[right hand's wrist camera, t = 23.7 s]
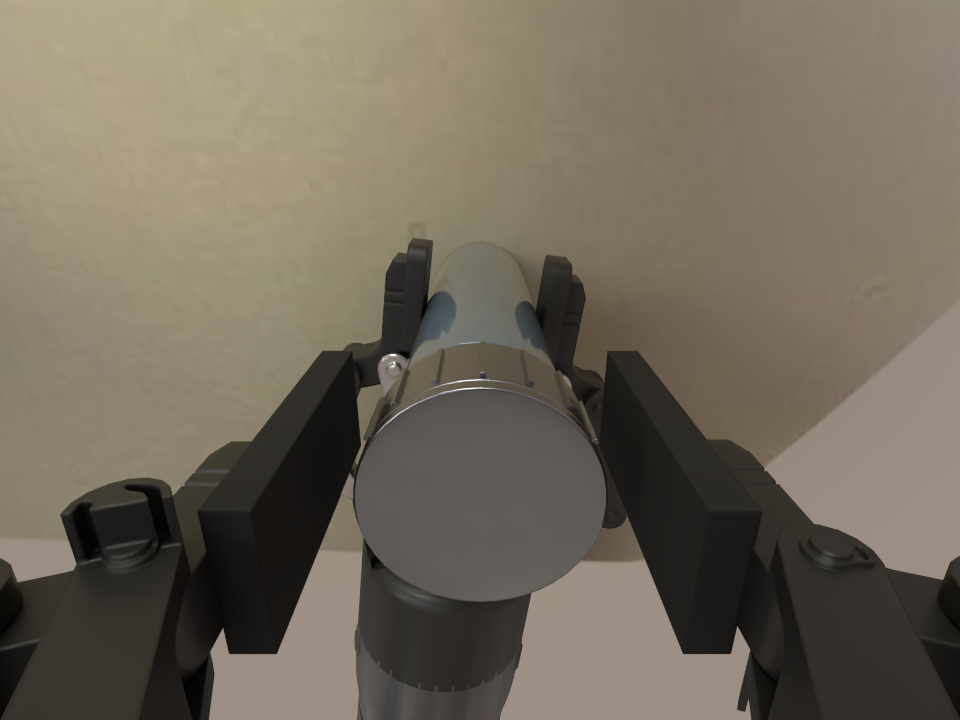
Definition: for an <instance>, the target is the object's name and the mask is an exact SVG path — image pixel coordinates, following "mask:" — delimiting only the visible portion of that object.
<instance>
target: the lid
mask: <svg viewBox="0 0 960 720" xmlns="http://www.w3.org/2000/svg"><path fill="white" fill-rule="evenodd" d="M364 440H366V441H367V442H366V445H365V447H364V450H363V453H362V455H361V458H360V460H359V463H358V466H357V468H356V471H355V474H354V486H353V503H354V509H355V514H356V519H357V521H358V524H359V527H360V530H361V532H362V534H363V536H364V538H365V540H366V542H367V544H368V545H369V547H370V548H371V550H372V551H373V553H374V554H375V555H376V556H377V557H378V559H379V560H380V561H381V562H382V563H383V564H384V565H385V566H386V567H387V568H388V569H390V570H391V571H392V572H393V573H394V574H396V575H397V576H398V577H400V578H401V579H403V580H404V581H406V582H407V583H409V584H411V585H413V586H415V587H417V588H419V589H421V590H424V591H426V592H429V593H432V594H434V595H437V596H441V597H445V598H449V599H454V600H461V601H472V602H489V601H500V600H506V599H512V598H516V597H520V596H523V595H527V594H529V593H532V592H535V591H537V590H540V589H542V588H544V587H546V586H548V585H550V584H552V583H553V582H555V581H556V580H558V579H559V578H561V577H562V576H564V575H565V574H567V573H568V572H569V571H570V570H571V569H572V568H574V567H575V566H576V565H577V564H578V563H579V562H580V561H581V560H582V558H583V557H584V556H585V555H586V554H587V552H588V551H589V550H590V548H591V547H592V545H593V544H594V542H595V540H596V538H597V536H598V534H599V532H600V530H601V527H602V524H603V521H604V518H605V514H606V508H607V503H608V486H607V478H606V473H605V470H604V467H603V463H602V460H601V458H600V455H599V453H598V450H597V447H596V445H597V444H599V441H598V438H597V436H596V433H595V431H594V428H593V426H592V424H591V421H590V419H589V416H588V414H587V411H586V409H585V406H584V404H583V402H582V401H580V402H578V400H577V398H576V396H575V394H574V393H573V391H572V390H571V388H570V387H569V385H568V384H567V383H566V381H565V380H564V378H563V375H562V373H561V372H560V371H559V370H558V371H555V370H554V369H552V368H551V367H550V366H549V365H548V364H546V363H544V362H543V361H541V360H540V359H538V358H537V357H535V356H532V355H530V354H528V351H527V350H525V349H522V351H521V350H518V349H515V348H512V347H508V346H502V345H497V344H485V341H480V343H476V344H464V345H458V346H453V347H449V348H446V349H443V348H439V349H438V350H437V352H435V353H433V354H431V355H428V356H426V357H424V358H423V359H421V360H420V361H418V362H416V363H415V364H413V365H412V366H411V367H410V368H408V369H407V368H406V367H405V368H404V369H403V370H402V372H401V375H400V377H399V378H398V379H397V380H396V381H395V382H394V383H393V385H392V386H391V388H390V389H389V391H388V392H387V394H386V395H385V398H382V397H380V399H379V401H378V404H377V406H376V409H375V411H374V414H373V416H372V419H371V421H370V424H369V426H368V429H367V431H366V434H365V436H364Z"/></svg>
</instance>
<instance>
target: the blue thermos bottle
mask: <svg viewBox="0 0 960 720" xmlns="http://www.w3.org/2000/svg"><path fill="white" fill-rule="evenodd" d="M480 341H485V344H497V345H502V346H508V347H512V348H515V349H518V350H521V351H522V349H525V350H527V351H528V354H530V355H532V356H535V357H537V358H538V359H540V360H541V361H543V362H544V363H546V364H548V365H549V366H550V367H551V368H552V369H554V370H555V371H556V369H555V366H554V363H553V360H552V357H551V354H550V351H549V349H548V346H547V343H546V340H545V337H544V334H543V331H542V328H541V325H540V322H539V320H538V317H537V314H536V311H535V308H534V305H533V302H532V299H531V296H530V294H529V291H528V288H527V285H526V282H525V279H524V276H523V273H522V271H521V268H520V266H519V265H518V263H517V261H516V260H515V259H514V258H513V257H512V256H511V255H510V254H509V253H508V252H507V251H505V250H504V249H502V248H500V247H498V246H495V245H492V244H488V243H473V244H468V245H465V246H462V247H460V248H458V249H457V250H455V251H454V252H452V253H451V254H450V255H449V256H448V257H447V258H446V259H445V261H444V262H443V263H442V265H441V267H440V269H439V272H438V274H437V277H436V280H435V283H434V286H433V289H432V292H431V295H430V298H429V301H428V303H427V306H426V309H425V312H424V315H423V318H422V321H421V324H420V327H419V330H418V333H417V336H416V339H415V341H414V344H413V347H412V350H411V353H410V356H409V359H408V362H407V365H406V368H407V369H408V368H410V367H411V366H412V365H413V364H415V363H416V362H418V361H420V360H421V359H423V358H424V357H426V356H428V355H431V354H433V353H435V352H437V350H438V349H439V348H443V349H446V348H449V347H453V346H458V345H464V344H476V343H480Z"/></svg>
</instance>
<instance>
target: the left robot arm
mask: <svg viewBox="0 0 960 720" xmlns="http://www.w3.org/2000/svg"><path fill="white" fill-rule="evenodd" d="M432 248H433V240H425V239H417V238H413V239H412V241H411V242H410V243H409V246H408V251H407V254H405V253H398V254H397V255H396V257H395V258H394V259H393V261H392V263H391V265H390V267H389V269H388V271H387V273H386V280H385V295H384V310H383V325H382V338H381V339H380V340H378V341H376V342H373V343H369V344H364V345H363V344H361V343H352V344H349V345H348V346H346V347H345V349H344V350H343V351H352V352H353V363H354V374H355V385H356V396H357V397H358V394H359V392H360V389H361V388H364V387H368V386H373V385H378V384H381V387H382V391H383V395H384V398H385V395H386V394H387V392H388V391H389V389H390V388H391V386H392V385H393V383H394V382H395V381H396V380H397V379H398V378H399V377H400V375H401V372H402V370H403V369H404V368H405V367H406V365H407V362H408V359H409V356H410V353H411V350H412V347H413V344H414V341H415V339H416V336H417V333H418V330H419V327H420V324H421V321H422V318H423V315H424V312H425V309H426V306H427V301H428V290H429V280H430V269H431V259H432ZM585 299H586V298H585V293H584V288H583V283H582V282H581V281H580V279H579V278H578V277H577V276H576V275H572V265H571V263H570V262H569V261H568V259H567V258H566V257H560V256H552V255H547V256H546V258H545V262H544V267H543V273H542V279H541V284H540V290H539V296H538V302H537V307H536V314H537V317H538V320H539V322H540V325H541V328H542V331H543V334H544V337H545V340H546V343H547V346H548V349H549V351H550V354H551V357H552V360H553V363H554V366H555V369H556V371H558V370H559V371H560V372H561V373H562V375H563V378H564V380H565V381H566V383H567V384H568V385H569V387H570V388H571V390H572V391H573V393H574V394H575V396H576V398H577V400H578V402H580V401H582V402H583V404H584V406H585V409H586V411H587V414H588V416H589V419H590V421H591V424H592V426H593V428H594V431H595V433H596V436H597V438H598V441H600V430H601V419H602V407H603V396H604V385H605V384H604V381H603V379H602V378H601V376H600V375H599V374H598V373H597V372H595V371H592V370H585V371H584V370H582V369H580V368H578V367H576V366H575V365H573V357H574V352H575V347H576V343H577V338H578V333H579V328H580V323H581V318H582V313H583V308H584V304H585ZM596 447H597V450H598V453H599V455H600V458H601V460H602V463H603V467H604V470H605V473H606V478H607V486H608V503H607V508H606V514H605V518H604V521H603V524H602V527H604V528H608V529H613V528H617V527H619V526H620V525H622V524H623V523H624V521H625V520H626V511H625V508H624V506H623V503H622V501H621V498H620V496H619V493H618V491H617V488H616V486H615V483H614V481H613V479H612V476H611V474H610V471H609V469H608V466H607V464H606V461H605V459H604V456H603V454H602V451H601V449H600V446H599V444H597V445H596ZM357 466H358V465H357V464H356V462H355V461H354V464H353V466H352V469H351V471H350V474H349V476H348V478H347V481H346V483H345V486H344V488H343V491H342V493H341V495H342V496H345V497H347V498H350V499H353V486H354V474H355V471H356V468H357ZM353 506H354V503H353ZM354 510H355V509H354ZM530 597H531V593H529V594H527V595H523V596H520V597H516V598H512V599H506V600H500V601H489V602H472V601H461V600H454V599H449V598H445V597H441V596H437V595H434V594H432V593H429V592H426V591H424V590H421V589H419V588H417V587H415V586H413V585H411V584H409V583H407V582H406V581H404V580H403V579H401V578H400V577H398V576H397V575H396V574H394V573H393V572H392V571H391V570H390V569H388V568H387V567H386V566H385V565H384V564H383V563H382V562H381V561H380V560H379V559H378V557H377V556H376V555H375V554H374V553H373V551H372V550H371V548H370V547H369V545H368V544H367V542H366V540H365V538H364V539H363V555H362V571H361V586H360V603H359V617H358V624H357V628H356V631H355V651H356V673H357V682H358V688H359V701H358V715H357V720H500V715H501V711H502V708H503V706H504V704H505V702H506V699H507V697H508V694H509V691H510V688H511V685H512V682H513V678H514V674H515V670H516V668H518V664H519V660H520V655H521V650H522V635H523V630H524V626H525V621H526V616H527V611H528V607H529V602H530Z"/></svg>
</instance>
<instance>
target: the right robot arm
mask: <svg viewBox="0 0 960 720" xmlns="http://www.w3.org/2000/svg"><path fill="white" fill-rule="evenodd" d="M360 446H361V441H360V430H359V419H358V408H357V396H356V385H355V374H354V363H353V352H352V351H322V352H321V354H320V355H319V356H318V357H317V359H316V360H315V361H314V363H313V364H312V365H311V366H310V368H309V369H308V370H307V371H306V373H305V374H304V375H303V377H302V378H301V379H300V380H299V382H298V383H297V384H296V386H295V387H294V388H293V389H292V391H291V392H290V393H289V394H288V396H287V397H286V398H285V400H284V401H283V402H282V403H281V405H280V406H279V407H278V409H277V410H276V411H275V412H274V414H273V415H272V416H271V417H270V419H269V420H268V421H267V423H266V424H265V425H264V426H263V428H262V429H261V430H260V432H259V433H258V434H257V435H256V437H255V438H254V439H253V440H252V442H230V443H228V444H227V445H225V446H224V447H222V448H220V449H219V450H217V451H215V452H214V453H212V454H210V455H209V456H208V457H207V459H206V460H205V461H204V462H203V463H202V464H201V465H200V466H199V468H198V469H197V470H196V473H193V474H192V475H191V477H190V478H189V479H188V480H187V481H186V482H185V486H182V487H181V488H180V489H179V490H178V491H177V492H176V494H175V495H174V496H172V491H171V487H170V486H169V485H168V484H166V483H165V482H164V481H162V480H158V479H152V478H137V479H127V480H123V481H119V482H115V483H111V484H107V485H105V486H102V487H100V488H97V489H95V490H93V491H90V492H88V493H86V494H85V495H83V496H81V497H80V498H78V499H77V500H75V501H73V502H72V503H71V504H70V505H69V506H68V507H67V508H66V509H65V510H64V511H63V512H62V513H61V514H60V515H61V518H62V521H63V524H64V527H65V530H66V533H67V536H68V539H69V542H70V545H71V548H72V551H73V554H74V557H75V560H76V563H77V565H76V567H75V569H74V571H70V572H66V573H61V574H56V575H52V576H47V577H42V578H37V579H33V580H28V581H23V582H17V580H16V577H15V575H14V572H13V570H12V567H11V565H10V564H9V563H7V562H6V561H4V560H3V559H0V720H209V713H210V706H211V697H212V690H213V682H214V669H213V662H212V658H211V654H210V651H211V649H212V647H213V645H214V643H215V642H216V640H217V638H218V636H219V634H220V632H221V630H222V629H224V633H225V637H226V642H227V646H228V651H229V654H277V652H278V649H279V647H280V645H281V642H282V640H283V637H284V635H285V632H286V630H287V627H288V625H289V622H290V620H291V617H292V615H293V612H294V610H295V607H296V605H297V602H298V600H299V598H300V595H301V593H302V590H303V588H304V585H305V583H306V580H307V578H308V575H309V573H310V570H311V568H312V565H313V563H314V560H315V558H316V555H317V553H318V550H319V548H320V545H321V543H322V541H323V538H324V536H325V533H326V531H327V528H328V526H329V523H330V521H331V518H332V516H333V513H334V511H335V508H336V506H337V503H338V501H339V498H340V496H341V493H342V491H343V488H344V486H345V483H346V481H347V478H348V476H349V474H350V471H351V469H352V466H353V464H354V461H355V459H356V456H357V454H358V451H359V449H360ZM599 446H600V449H601V451H602V454H603V456H604V459H605V461H606V464H607V466H608V469H609V471H610V474H611V476H612V479H613V481H614V483H615V486H616V488H617V491H618V493H619V496H620V498H621V501H622V503H623V506H624V508H625V511H626V513H627V516H628V518H629V521H630V523H631V526H632V528H633V531H634V533H635V536H636V538H637V541H638V543H639V545H640V548H641V550H642V553H643V555H644V558H645V560H646V563H647V565H648V568H649V570H650V573H651V575H652V578H653V580H654V583H655V585H656V588H657V590H658V592H659V595H660V597H661V600H662V603H663V605H664V607H665V610H666V612H667V615H668V617H669V620H670V622H671V625H672V627H673V630H674V632H675V635H676V637H677V640H678V642H679V645H680V647H681V650H682V652H683V654H731V651H732V647H733V642H734V638H735V633H736V629H737V626H738V628H739V629H740V631H741V633H742V635H743V637H744V639H745V641H746V642H747V644H748V646H749V648H750V654H749V658H748V662H747V666H746V670H745V674H744V679H743V683H742V687H741V691H740V695H739V701H738V707H737V710H740V711H744V712H745V710H746V706H747V702H748V699H749V704H750V712H751V720H960V556H959V557H957V558H956V559H954V560H953V561H951V562H950V564H949V567H948V570H947V572H946V574H945V577H944V580H940V579H935V578H930V577H925V576H921V575H915V574H911V573H906V572H901V571H896V570H892V569H888V568H885V565H884V564H883V562H882V561H881V560H880V558H879V557H878V556H877V555H876V553H875V552H874V551H873V550H872V549H870V548H869V547H868V546H866V545H865V544H864V543H862V542H861V541H859V540H858V539H856V538H854V537H852V536H850V535H848V534H846V533H844V532H841V531H839V530H836V529H833V528H829V527H826V526H822V525H817V524H814V523H813V522H812V521H811V520H810V519H809V518H808V517H807V516H806V515H805V513H804V512H803V511H802V510H801V509H800V508H799V507H798V506H797V504H796V503H795V502H794V501H793V500H792V499H791V498H790V497H789V495H788V494H787V493H786V492H785V491H784V490H783V489H782V488H781V487H780V485H778V484H776V481H775V480H774V479H773V478H772V476H771V475H770V474H769V473H768V472H767V471H764V467H763V466H762V465H761V464H760V463H759V462H758V461H757V460H756V458H755V457H754V456H753V455H752V454H751V453H750V452H748V451H746V450H745V449H743V448H741V447H740V446H738V445H736V444H735V443H733V442H732V441H730V440H707V439H706V438H705V437H704V435H703V434H702V433H701V432H700V430H699V429H698V428H697V426H696V425H695V424H694V423H693V421H692V420H691V419H690V417H689V416H688V415H687V414H686V412H685V411H684V410H683V409H682V407H681V406H680V405H679V403H678V402H677V401H676V400H675V398H674V397H673V396H672V394H671V393H670V392H669V391H668V389H667V388H666V387H665V386H664V384H663V383H662V382H661V380H660V379H659V378H658V377H657V375H656V374H655V373H654V371H653V370H652V369H651V368H650V366H649V365H648V364H647V363H646V361H645V360H644V359H643V357H642V356H641V355H640V354H639V352H638V351H608V352H607V363H606V374H605V385H604V396H603V407H602V419H601V430H600V441H599Z"/></svg>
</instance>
